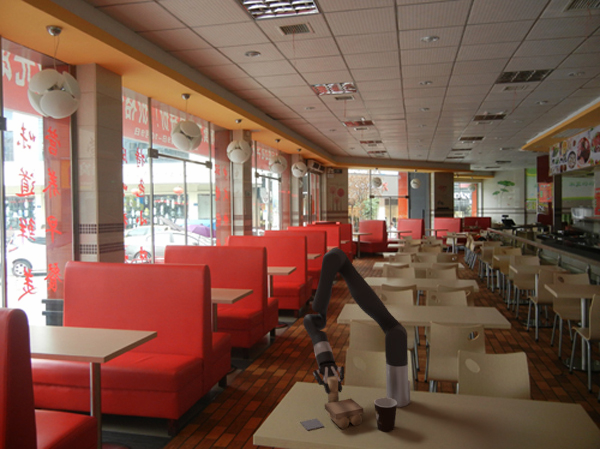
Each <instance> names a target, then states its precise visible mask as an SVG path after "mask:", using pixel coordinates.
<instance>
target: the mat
mask: <svg viewBox="0 0 600 449" xmlns="http://www.w3.org/2000/svg"><path fill="white" fill-rule="evenodd" d="M300 424H301V425H302V427H304V429H305V430H306V431H312V430H317V429H320V428H324V427H325V425H324V424H323V423H322V422H320V420H319V419H317V417H315V418H311V419H308V420H304V421H303V420H302V421H300Z"/></svg>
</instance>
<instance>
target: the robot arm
mask: <svg viewBox="0 0 600 449" xmlns="http://www.w3.org/2000/svg"><path fill="white" fill-rule="evenodd" d="M337 274H339V275H340V277H341V278H342V279H343V280H344V282H345V284H346V286H347V289H348V292H349V294H350V295H351V298H352V299H353V301H354V302H355V303H356V304H357V306H358V307H359V308H360V309H361V311H362V312H364V313H365V314H366V315H367V316H369V317H370V318H371V319H373V320H374V321H375V322H376V323H377V325H378V326H379V327H380V329H381V330H382V333H384V335H385V336H384V351H385V352H384V354H385V375H386V376H385V379H386V380H385V381H386V382H385V383H386V384H385V385H386V392H385V393H386V398H391V399H394V400H395V401H396V402H397V408H400V407H401V408H402V407H406V406H408V405H410V404H411V381H410V380H409V366H408V365H409V357H408V356H409V354H408V349H409V348H408V332H407V329H406V328H405V326H403V325H402V324H401V323H400V322H399V320H397V319H396V318H395V316H393V315H392V313H391V312H390V311H389V310H388V308H387V306H386V305H385V304H384V303H383V301H382V300H381V298H380V297H379V296H378V295H377V293H376V292H375V291H374V289H373V288H372V287H371V285H370V284H368V282H367V281H366V280H365V279H364V277H363V276H362V275H361V273H359V271H358V270H357V269H356V267H355V266H354V265H353V263H352V261H351V260H350V258H349V257H348V256H347V253H345V252H344V251H343V249H341V248H338V247H337V248H336V247H335V248H331V249H330V250H329V251H327V252H325V254H324V255H323V257H322V262H321V269H320V276H319V279H318V280H319V281H318V285H317V288H316V292H315V295H314V298H313V301H312V304H311V309H312V310H313V311H314V313H308V314H305V316H304V317H303V319H302V320H303V321H302V323H303V328H304V330H306V333H307V334H308V336H309V338H310V339H311V342H312V345H313V350H314V356H315V360H316V362H317V367H318V369H315V370H314V371H313V372H312V374H313V377H314V378H315V380H316V383H317V384H318V385H319V386H323V389H324V391H325V394H327V395H328V394H330V389H329V385H328V384H327V377H329V376H337V377H338V393H341V392H342V390H343V386H342V382H343V381H344V380H345V366H344V365H342V366H338V365H337V364H336V360H335V357H334V353H333V349H332V346H331V344H330V341H329V339H328V335H327V333H326V332H325V331H323V330H324V329H325V328H326V327H327V315H328V307H329V304H330V302H331V298H332V291H333V290H332V289H333V284H334V280H335V278H336V276H337ZM316 313H317V314H316ZM337 371H338V372H337ZM320 374H321V376H322V377H323V378H322V377H321V376H320Z"/></svg>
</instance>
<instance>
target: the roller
mask: <svg viewBox="0 0 600 449" xmlns="http://www.w3.org/2000/svg"><path fill="white" fill-rule="evenodd" d="M338 377H339V376H338ZM338 377H337V376H329V377H327V384H328V385H329V389H330V394H327V403H331V402H336V401H340V398H339V397H340V396H339V391H338Z"/></svg>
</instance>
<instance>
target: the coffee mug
mask: <svg viewBox="0 0 600 449" xmlns="http://www.w3.org/2000/svg"><path fill="white" fill-rule="evenodd" d="M373 404H374V411H375V418H376V426H377V427H376V428H377V430H379V431H381V432H384V433H391V432H393V431H394V430H395V425H396V416H397V408H398V407H397V402H396V401H395V400H394V399H391V398H387V397H378V398H376V399H374V401H373Z"/></svg>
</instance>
